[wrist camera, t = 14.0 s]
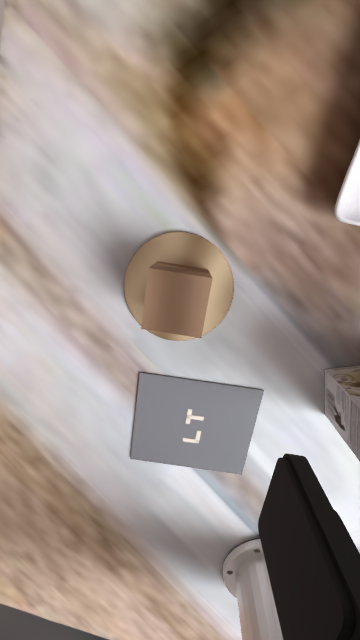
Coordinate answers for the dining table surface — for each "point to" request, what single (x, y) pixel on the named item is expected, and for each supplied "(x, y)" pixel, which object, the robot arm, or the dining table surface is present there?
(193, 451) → the gray tile
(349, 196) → the salad plate
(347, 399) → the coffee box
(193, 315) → the walnut block
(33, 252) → the dining table surface
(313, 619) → the robot arm
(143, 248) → the coaster
